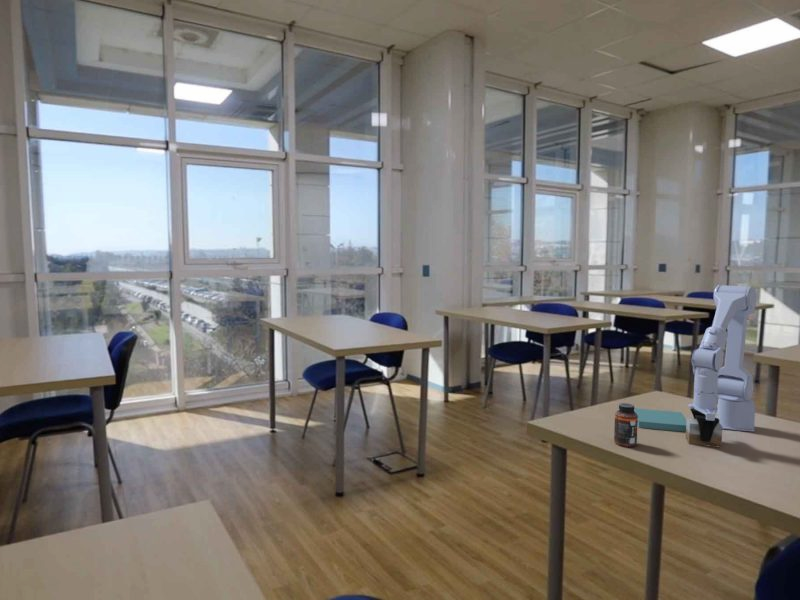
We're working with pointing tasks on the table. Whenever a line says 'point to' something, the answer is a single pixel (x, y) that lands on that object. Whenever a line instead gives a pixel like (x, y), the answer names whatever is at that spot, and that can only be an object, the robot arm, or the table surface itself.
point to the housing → (694, 434)
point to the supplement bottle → (626, 425)
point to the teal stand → (661, 420)
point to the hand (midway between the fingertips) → (703, 437)
